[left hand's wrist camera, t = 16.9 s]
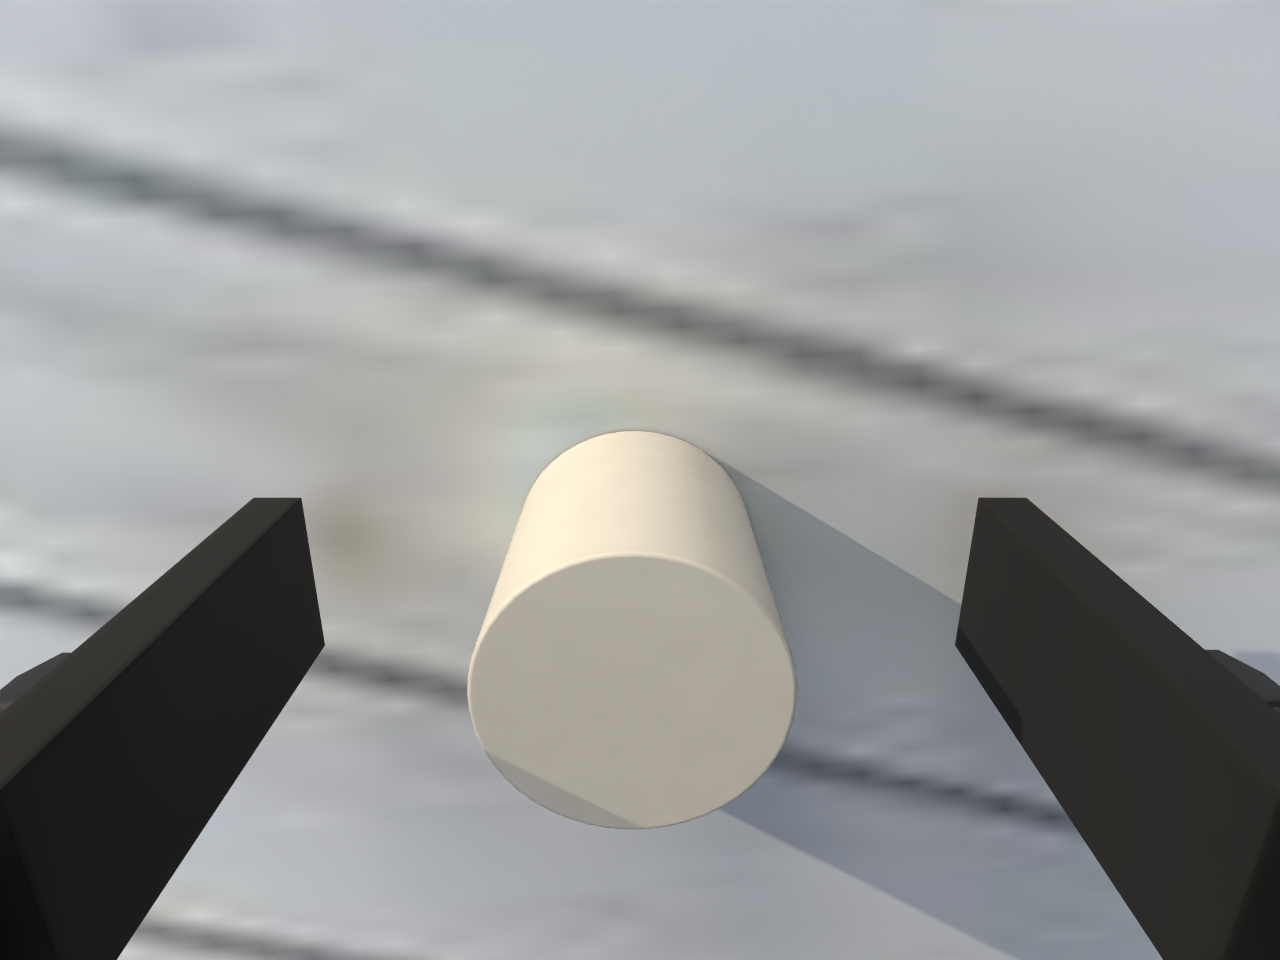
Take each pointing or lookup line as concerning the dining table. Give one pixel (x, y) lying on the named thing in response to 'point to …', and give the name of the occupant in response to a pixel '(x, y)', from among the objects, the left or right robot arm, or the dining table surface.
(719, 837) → the dining table surface
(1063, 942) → the dining table surface
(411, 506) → the dining table surface
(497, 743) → the can
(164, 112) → the dining table surface
